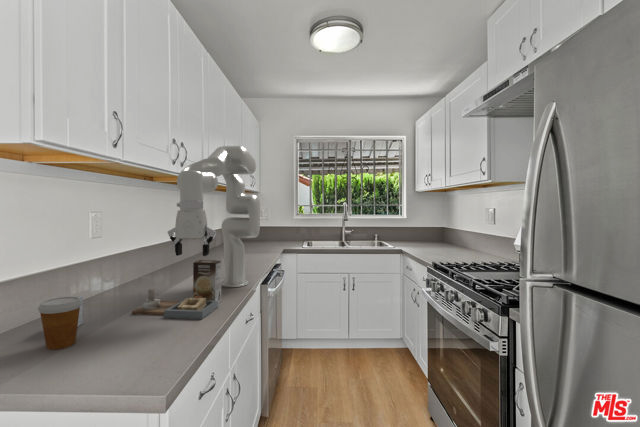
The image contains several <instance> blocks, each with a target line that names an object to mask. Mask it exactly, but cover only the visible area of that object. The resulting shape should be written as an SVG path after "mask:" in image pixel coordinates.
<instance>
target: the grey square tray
mask: <svg viewBox="0 0 640 427" xmlns="http://www.w3.org/2000/svg"><path fill="white" fill-rule="evenodd" d="M184 300H185V299H183V300H180V301H181V302H179V303H177V304H175V305H173V306H172V307H170V308H168V309H166V310H164V314H165V315H164V319H183V320H184V319H187V320H190V319H191V320H204V319H205V318H206V317H208V316H210V314H211V313H213V312H214V311H216V310H217V309H218V308H219V303H218V301H208V300H206V306H205V307H204V308H203V309H202V310H178V306H179V305H180V304H181V303H182V302H183V301H184Z"/></svg>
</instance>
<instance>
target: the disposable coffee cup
mask: <svg viewBox="0 0 640 427" xmlns="http://www.w3.org/2000/svg"><path fill="white" fill-rule="evenodd" d="M79 297H80V296H79ZM79 297H78V296H61V297H53V298H49V299H46V300H43V301H41V302H40V303H39V307H37V311H38V312H39V314H40V318H41V324H42V331H43V335H44V336H43V337H44V341H45V342H44V343H45V347H46V349H47V350H51V351H52V350H55V351H56V350H61V349H66V348H68V347H71V346H73V345H75V344H76V341H77V331H78V327H79V326H78V318H79V310H80V306H81V304H82V302H81V301H80V298H79ZM77 326H78V327H77Z"/></svg>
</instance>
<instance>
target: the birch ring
mask: <svg viewBox="0 0 640 427" xmlns="http://www.w3.org/2000/svg"><path fill="white" fill-rule="evenodd" d="M183 300H184V301H183V302H182V303H181V304H180V305H179V306H178V310H202V309H203V308H204V307H205V306H206V298H202V296H195V297H194V298H193V297H185V299H183Z"/></svg>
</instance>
